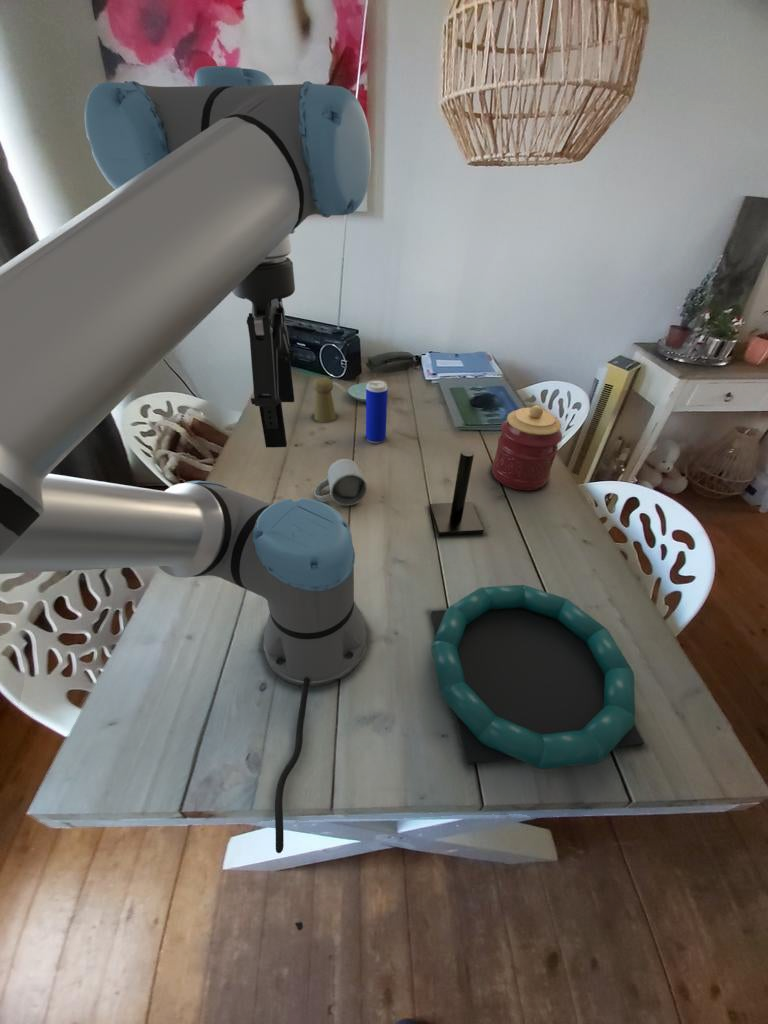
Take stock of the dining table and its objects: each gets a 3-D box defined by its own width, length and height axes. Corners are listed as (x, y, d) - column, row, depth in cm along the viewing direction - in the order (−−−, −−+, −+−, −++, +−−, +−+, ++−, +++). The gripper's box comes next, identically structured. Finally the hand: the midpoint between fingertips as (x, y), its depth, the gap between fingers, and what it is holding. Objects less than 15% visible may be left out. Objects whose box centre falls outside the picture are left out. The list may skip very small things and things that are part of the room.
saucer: (372, 386, 140) (372, 379, 139) (394, 400, 133) (395, 393, 131) (340, 395, 134) (340, 388, 133) (362, 409, 127) (362, 402, 126)
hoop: (671, 758, 54) (685, 746, 52) (458, 783, 52) (462, 771, 49) (574, 590, 75) (580, 576, 73) (418, 601, 72) (420, 586, 70)
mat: (642, 745, 56) (644, 743, 56) (468, 764, 54) (468, 762, 53) (565, 603, 74) (566, 601, 74) (431, 613, 71) (431, 610, 71)
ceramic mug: (359, 481, 99) (358, 452, 94) (367, 503, 93) (367, 473, 88) (312, 488, 97) (309, 458, 92) (317, 510, 91) (314, 480, 86)
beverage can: (387, 435, 116) (390, 381, 106) (382, 445, 112) (384, 389, 102) (369, 432, 117) (369, 378, 107) (363, 442, 113) (363, 386, 103)
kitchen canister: (489, 458, 109) (503, 391, 98) (542, 463, 108) (563, 395, 97) (493, 489, 99) (510, 417, 88) (552, 494, 98) (576, 423, 87)
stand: (483, 534, 87) (499, 465, 77) (438, 536, 86) (448, 467, 76) (470, 506, 94) (484, 439, 83) (429, 508, 93) (437, 440, 82)
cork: (312, 413, 124) (309, 375, 118) (333, 411, 126) (331, 373, 119) (316, 423, 120) (313, 384, 113) (337, 420, 122) (336, 382, 115)
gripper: (281, 283, 42) (301, 468, 55) (299, 240, 61) (311, 386, 74) (200, 282, 41) (241, 470, 55) (244, 239, 60) (266, 386, 74)
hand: (281, 422), depth 65 cm, fingers open, 13 cm apart
